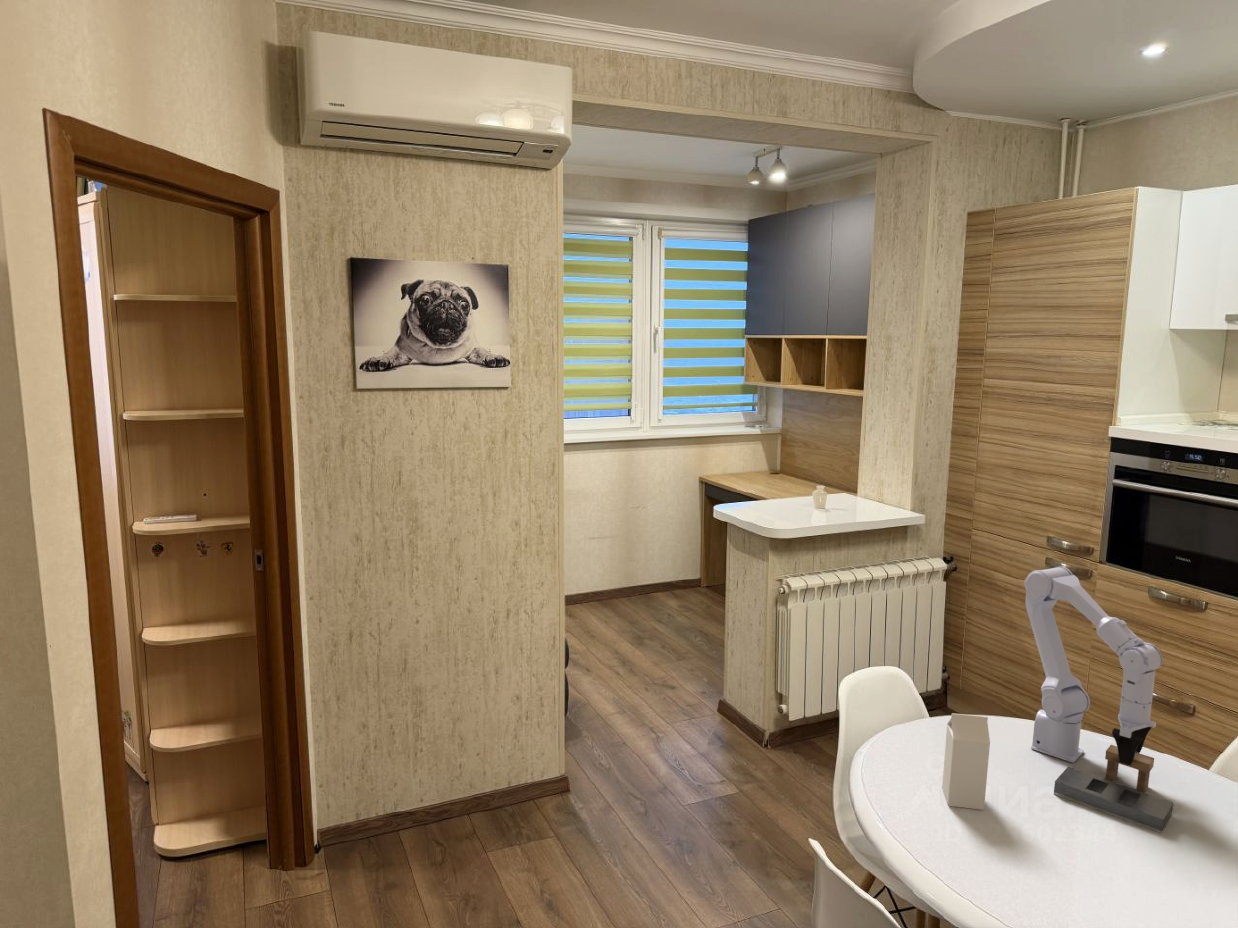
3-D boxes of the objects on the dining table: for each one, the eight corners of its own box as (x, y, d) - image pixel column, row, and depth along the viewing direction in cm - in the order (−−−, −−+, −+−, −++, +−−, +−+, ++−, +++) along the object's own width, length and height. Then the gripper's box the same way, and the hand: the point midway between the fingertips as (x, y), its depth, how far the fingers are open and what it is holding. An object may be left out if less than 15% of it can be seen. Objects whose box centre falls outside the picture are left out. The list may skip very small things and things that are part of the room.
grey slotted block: (1053, 793, 178) (1055, 780, 178) (1066, 778, 184) (1068, 766, 184) (1161, 833, 164) (1163, 819, 164) (1171, 815, 171) (1173, 802, 170)
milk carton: (984, 810, 171) (991, 724, 168) (947, 806, 173) (954, 720, 170) (976, 792, 178) (983, 709, 175) (941, 788, 180) (948, 706, 177)
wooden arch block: (1102, 779, 184) (1106, 750, 183) (1107, 773, 187) (1111, 744, 186) (1146, 794, 179) (1149, 764, 178) (1150, 787, 181) (1154, 757, 180)
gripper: (1149, 714, 172) (1142, 775, 174) (1165, 694, 182) (1158, 752, 184) (1111, 704, 177) (1105, 763, 179) (1129, 685, 187) (1123, 741, 189)
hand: (1130, 757), depth 182 cm, fingers open, 7 cm apart
